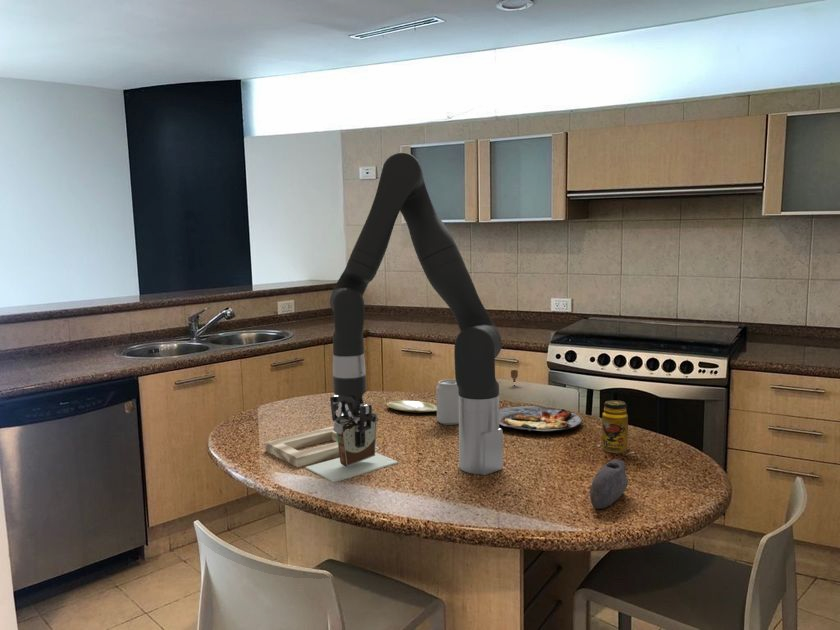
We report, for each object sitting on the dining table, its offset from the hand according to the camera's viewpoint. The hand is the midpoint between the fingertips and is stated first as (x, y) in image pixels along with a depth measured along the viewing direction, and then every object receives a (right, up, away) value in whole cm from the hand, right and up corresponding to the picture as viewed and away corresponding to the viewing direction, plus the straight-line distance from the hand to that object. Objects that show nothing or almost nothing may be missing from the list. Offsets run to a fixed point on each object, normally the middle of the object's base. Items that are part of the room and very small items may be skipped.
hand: (351, 443), depth 157 cm
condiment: (+64, -3, +10) cm, 65 cm away
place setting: (+38, +4, +79) cm, 87 cm away
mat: (0, -6, +1) cm, 6 cm away
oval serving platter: (+21, 0, +45) cm, 49 cm away
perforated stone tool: (+53, -8, -22) cm, 58 cm away
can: (+24, -1, +35) cm, 43 cm away
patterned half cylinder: (0, -4, +1) cm, 4 cm away
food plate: (+49, -1, +32) cm, 58 cm away
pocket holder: (-10, -4, +13) cm, 17 cm away
